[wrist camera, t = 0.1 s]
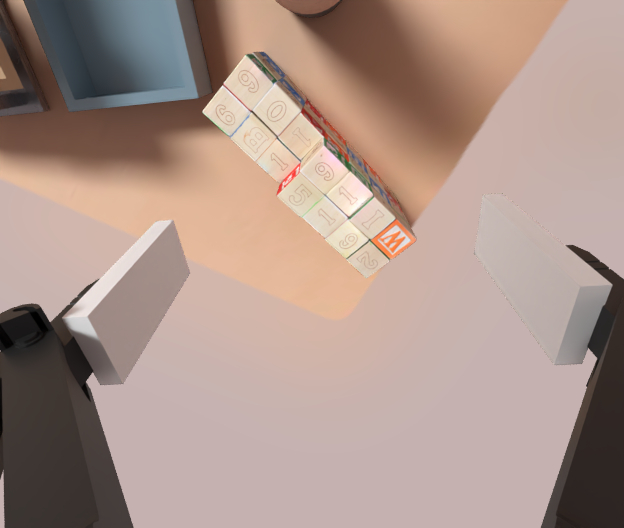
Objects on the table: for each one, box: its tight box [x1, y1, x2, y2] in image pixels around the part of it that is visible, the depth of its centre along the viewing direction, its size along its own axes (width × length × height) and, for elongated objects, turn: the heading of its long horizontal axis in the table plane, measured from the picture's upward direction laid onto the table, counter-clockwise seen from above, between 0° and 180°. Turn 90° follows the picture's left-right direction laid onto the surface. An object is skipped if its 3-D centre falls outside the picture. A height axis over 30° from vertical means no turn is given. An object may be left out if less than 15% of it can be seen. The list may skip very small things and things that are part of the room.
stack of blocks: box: [202, 52, 417, 278], centre depth 36 cm, size 21×6×12 cm, turn 45°
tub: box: [23, 0, 213, 112], centre depth 33 cm, size 13×14×5 cm
